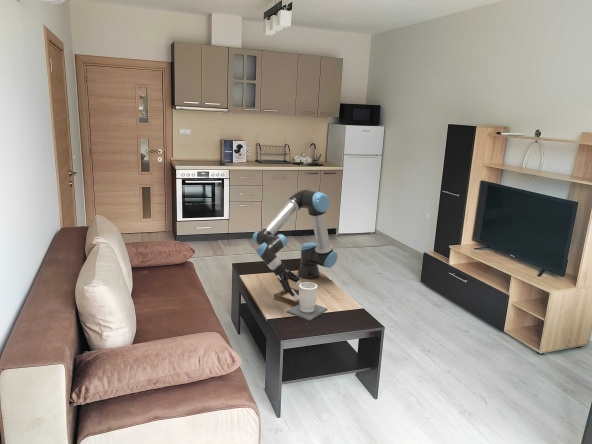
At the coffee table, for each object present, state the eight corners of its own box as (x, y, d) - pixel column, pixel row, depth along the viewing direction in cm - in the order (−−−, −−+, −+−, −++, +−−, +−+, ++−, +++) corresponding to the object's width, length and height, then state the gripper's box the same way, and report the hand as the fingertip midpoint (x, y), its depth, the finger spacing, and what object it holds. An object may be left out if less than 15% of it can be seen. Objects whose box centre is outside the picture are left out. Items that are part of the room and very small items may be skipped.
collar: (289, 291, 288) (289, 286, 287) (310, 298, 279) (310, 293, 278) (273, 298, 276) (273, 294, 275) (295, 306, 267) (295, 301, 266)
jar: (314, 314, 255) (315, 290, 251) (296, 312, 257) (297, 287, 253) (317, 306, 265) (318, 283, 261) (300, 304, 267) (301, 280, 263)
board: (305, 302, 273) (305, 300, 273) (327, 310, 264) (327, 308, 264) (286, 312, 259) (286, 310, 259) (309, 320, 250) (309, 319, 250)
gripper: (279, 263, 273) (302, 290, 273) (265, 277, 250) (290, 307, 249) (287, 256, 270) (311, 283, 270) (274, 270, 247) (299, 299, 247)
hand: (301, 294), depth 260 cm, fingers open, 13 cm apart
